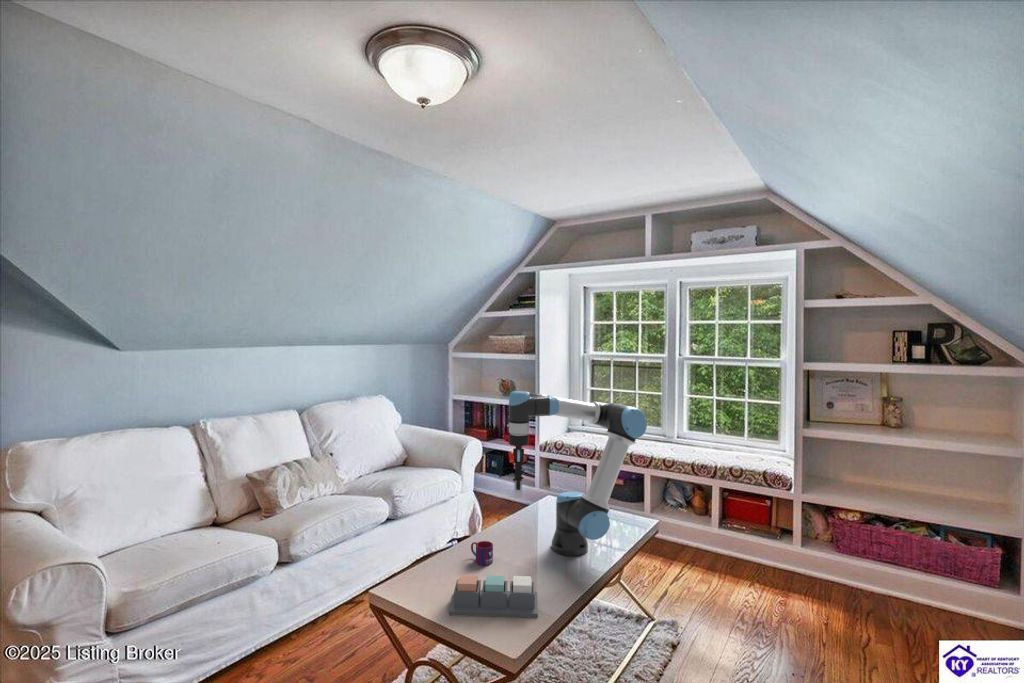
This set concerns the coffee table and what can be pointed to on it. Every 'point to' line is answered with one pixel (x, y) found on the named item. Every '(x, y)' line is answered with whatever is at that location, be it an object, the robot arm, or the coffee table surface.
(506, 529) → the coffee table surface
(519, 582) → the ivory key
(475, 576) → the terracotta key
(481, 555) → the mug
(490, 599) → the console
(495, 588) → the teal key
